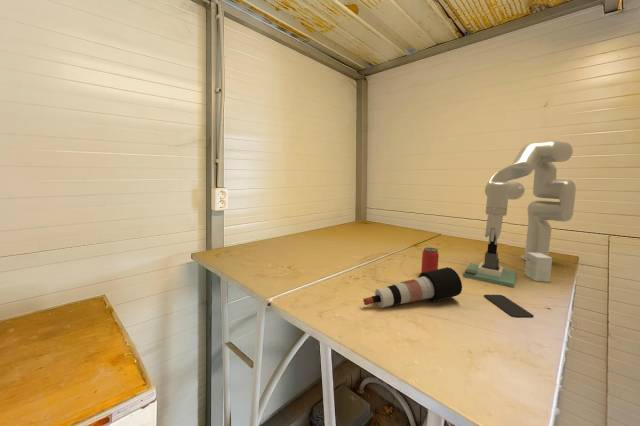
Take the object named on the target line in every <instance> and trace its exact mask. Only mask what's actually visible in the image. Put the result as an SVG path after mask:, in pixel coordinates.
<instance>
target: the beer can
mask: <svg viewBox="0 0 640 426" xmlns="http://www.w3.org/2000/svg"><path fill="white" fill-rule="evenodd" d="M439 256H440V255H439V251H438V249H437V248H435V247H424V248H423V250H422V254H421V271H420V274H421V273H423V272H428V271H432V270H437V269H439V268H438V267H439Z"/></svg>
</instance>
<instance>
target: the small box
mask: <svg viewBox="0 0 640 426" xmlns="http://www.w3.org/2000/svg"><path fill="white" fill-rule="evenodd" d="M552 266H553V257H551V256H549V255H548V256H546V255H544V254H542V253H531V252H527V256H526V260H525V267H524V275H525V276H527V277H528V278H529V279H531V280H532V281H534V282H546V283H550V281H551V276H552V275H551V272H552Z"/></svg>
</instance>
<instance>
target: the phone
mask: <svg viewBox="0 0 640 426" xmlns="http://www.w3.org/2000/svg"><path fill="white" fill-rule="evenodd" d="M483 298H484V299H486V300H487V301H489V302H490V303H491V304H492V305H494V306H495V307H497V308H498V309H500V311H503V312H504V313H505V314H507V315H508V316H509V317H511V318H519V319H520V318H529V319H530V318H534V316H535V315H534V314H532V313H531V312H530V311H528V310H526V309H525V308H523V307H521V305H519V304H517V303H516V302H514V301H513V300H511V299H509V298H508V297H507V296H505V295H502V294H484V295H483Z"/></svg>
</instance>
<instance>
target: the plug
mask: <svg viewBox="0 0 640 426" xmlns="http://www.w3.org/2000/svg"><path fill="white" fill-rule="evenodd" d="M487 251H488V250H486V251H485V253H484V262H483V263H484V268H487V269H492V270H498V266H500V258H499V252H496V254H493V253H488V252H487Z"/></svg>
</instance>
